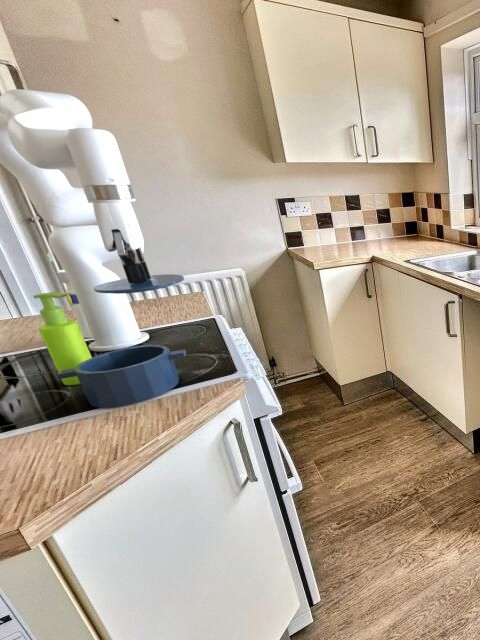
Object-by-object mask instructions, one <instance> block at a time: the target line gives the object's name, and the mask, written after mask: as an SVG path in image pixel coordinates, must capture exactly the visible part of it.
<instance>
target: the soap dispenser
mask: <svg viewBox="0 0 480 640" xmlns="http://www.w3.org/2000/svg"><path fill="white" fill-rule="evenodd" d="M67 295H68V294H66V292H65V293H64V292H58V291H57V292H56V291H55V292H44V293H38V294H35V295H33V298H34V299H39V300H40V302H41V304H42V306H43V308H42V309H40V310H39V313H40V315H41V318H42V321H43V322H44V325H41V326H39V327H38V328H37V329H38V331H39V334H40V337H41V338H42V341H43V343H44V344H45V347H46V349H47V351H48V353H49V355H50V358H51V360H52V362H53V364H54V366H55V368H56V370H57V373H58V374H59V373H60V372H61V371H62V370H67V369H73V368H75V367H76V366H77V365H78V364H80V363H82V362H84V361H86V360H88V359H90V358H93V357H92V355H91V351H90V349H89V346H88V345H87V343H86V341H85V338H84V337H83V335H82V333H81V330H80V327H79V324H78V322H77V320H68V318H67V316H66V313H65V311H64V309H63V307H62V306H58V305H56V304H55V301H54V299H60V298H64V297H67ZM61 382H62V384H63V385H64V386H75V385H76V386H77V385H81V384H80V381H79V379H78V377H77V376H75V377H69V378H63V379H61Z"/></svg>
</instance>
